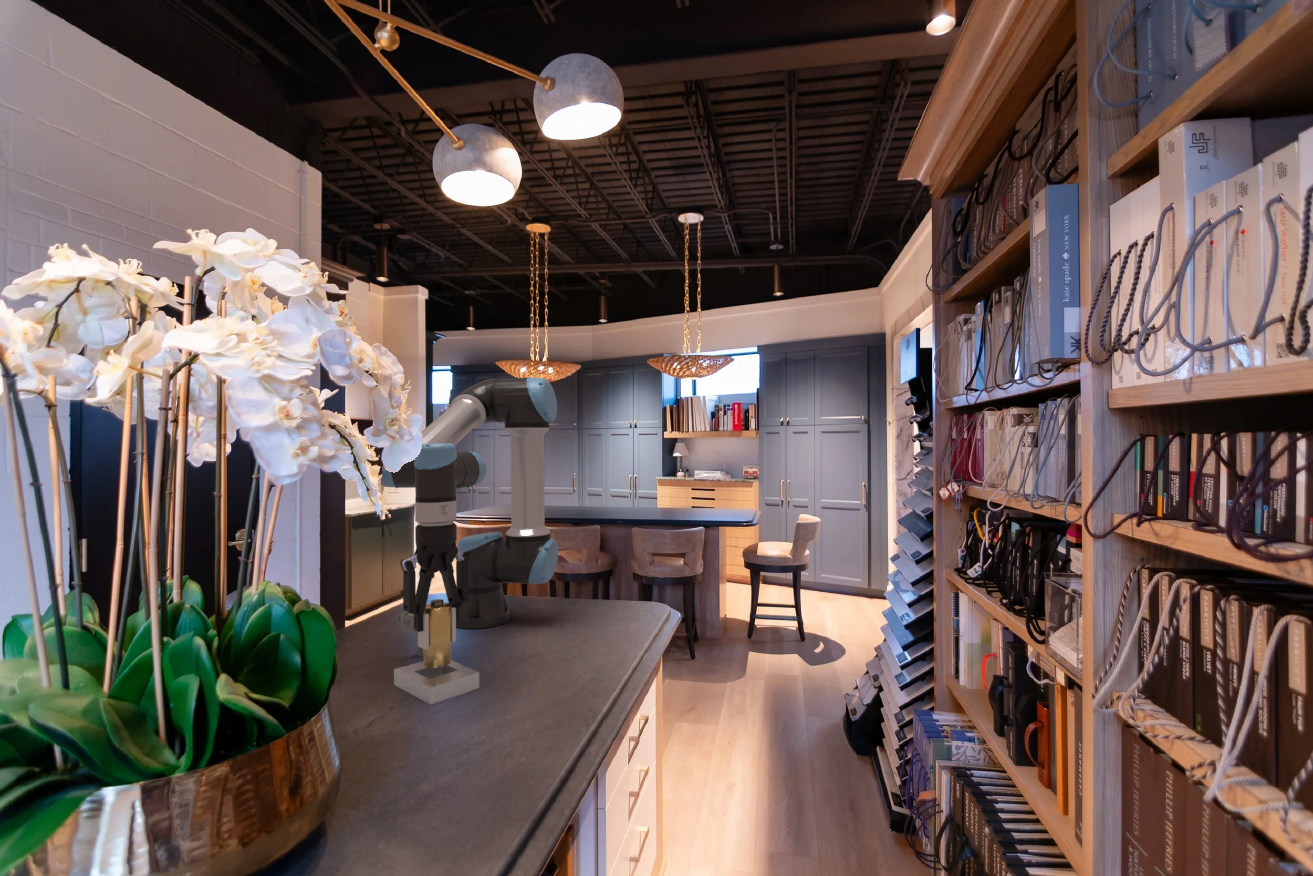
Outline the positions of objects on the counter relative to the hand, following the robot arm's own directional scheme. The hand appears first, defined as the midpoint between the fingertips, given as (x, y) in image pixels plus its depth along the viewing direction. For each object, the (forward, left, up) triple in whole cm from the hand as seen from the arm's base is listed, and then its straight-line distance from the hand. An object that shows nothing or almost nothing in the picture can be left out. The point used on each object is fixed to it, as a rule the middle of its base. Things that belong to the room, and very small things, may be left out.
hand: (437, 643), depth 122 cm
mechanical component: (-19, +7, -10) cm, 23 cm away
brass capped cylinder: (0, 0, -4) cm, 4 cm away
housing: (0, 0, -9) cm, 9 cm away
